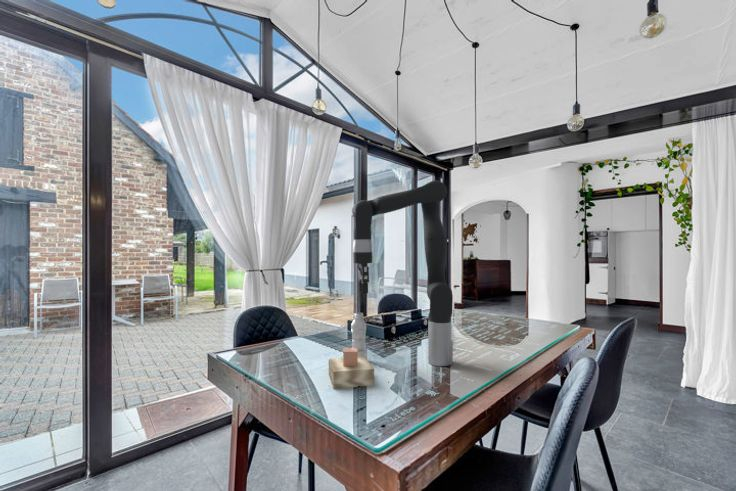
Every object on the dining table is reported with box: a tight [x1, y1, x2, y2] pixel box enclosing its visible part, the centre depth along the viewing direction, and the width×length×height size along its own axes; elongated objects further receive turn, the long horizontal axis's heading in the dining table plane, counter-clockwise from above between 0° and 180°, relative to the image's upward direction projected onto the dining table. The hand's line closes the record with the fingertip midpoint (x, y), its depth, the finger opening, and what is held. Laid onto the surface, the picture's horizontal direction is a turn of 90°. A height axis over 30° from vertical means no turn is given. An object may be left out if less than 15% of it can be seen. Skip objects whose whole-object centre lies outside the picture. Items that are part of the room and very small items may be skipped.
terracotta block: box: [342, 347, 358, 366], centre depth 123 cm, size 5×5×5 cm
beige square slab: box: [328, 357, 375, 390], centre depth 123 cm, size 14×14×6 cm
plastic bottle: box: [350, 312, 368, 358], centre depth 143 cm, size 6×7×20 cm
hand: (363, 292), depth 135 cm, fingers open, 8 cm apart
